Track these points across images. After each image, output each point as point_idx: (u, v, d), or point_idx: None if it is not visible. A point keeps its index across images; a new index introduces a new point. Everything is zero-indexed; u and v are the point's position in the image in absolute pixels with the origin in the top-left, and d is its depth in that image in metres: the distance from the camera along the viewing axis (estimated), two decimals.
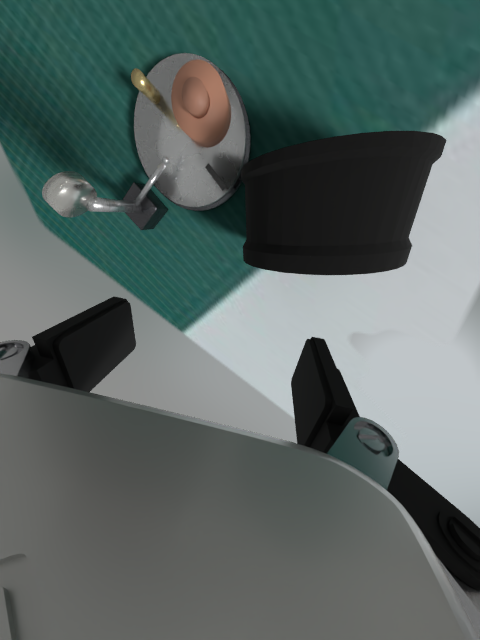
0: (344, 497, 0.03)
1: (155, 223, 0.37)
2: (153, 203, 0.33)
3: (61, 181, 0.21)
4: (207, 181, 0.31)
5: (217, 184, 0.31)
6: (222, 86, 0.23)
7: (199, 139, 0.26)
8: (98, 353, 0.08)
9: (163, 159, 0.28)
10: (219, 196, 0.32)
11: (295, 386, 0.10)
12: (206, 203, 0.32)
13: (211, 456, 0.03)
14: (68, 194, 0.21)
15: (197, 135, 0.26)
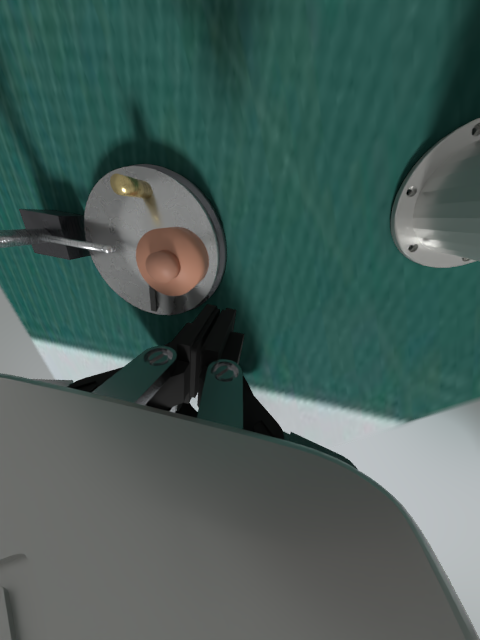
0: (344, 497, 0.03)
1: None
2: (70, 250, 0.25)
3: None
4: (143, 292, 0.27)
5: (150, 302, 0.27)
6: (195, 281, 0.21)
7: None
8: None
9: (103, 248, 0.22)
10: (145, 309, 0.28)
11: None
12: (129, 301, 0.28)
13: (211, 456, 0.03)
14: None
15: (147, 279, 0.22)
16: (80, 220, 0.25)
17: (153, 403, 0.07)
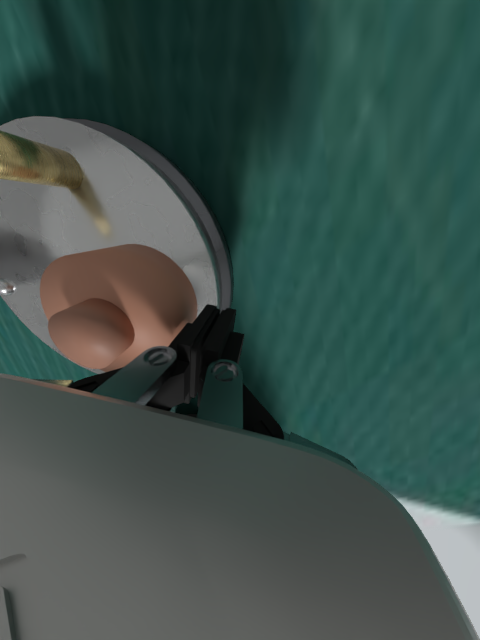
0: (344, 497, 0.03)
1: None
2: None
3: None
4: None
5: None
6: None
7: None
8: None
9: None
10: (99, 373, 0.17)
11: None
12: None
13: (211, 457, 0.03)
14: None
15: None
16: None
17: (153, 403, 0.07)
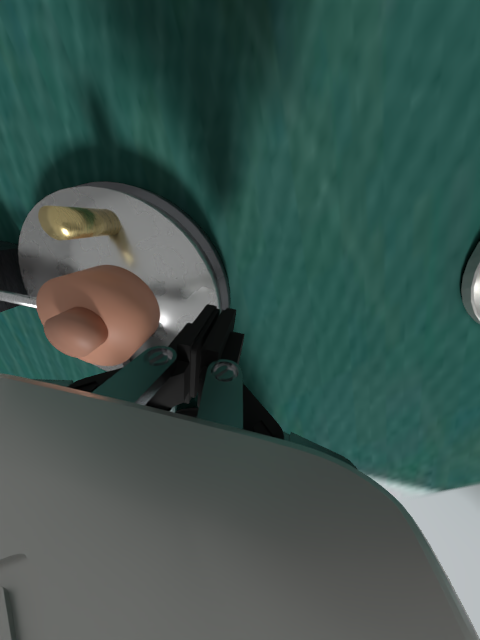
0: (344, 497, 0.03)
1: None
2: None
3: None
4: None
5: (123, 366, 0.20)
6: (132, 348, 0.14)
7: None
8: None
9: None
10: None
11: None
12: None
13: (212, 457, 0.03)
14: None
15: None
16: None
17: (153, 403, 0.07)
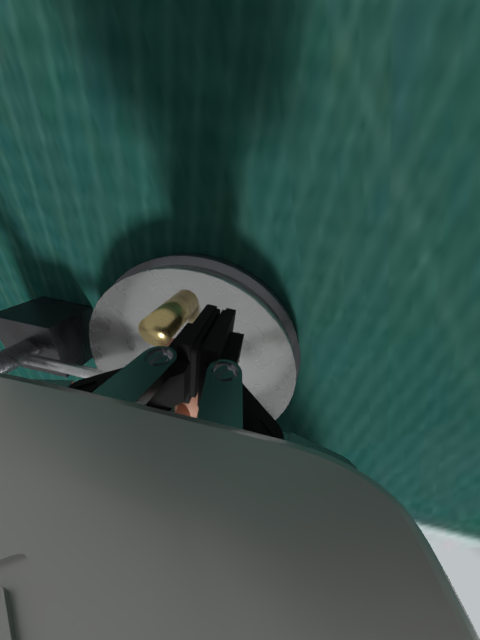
0: (344, 497, 0.03)
1: None
2: None
3: None
4: None
5: None
6: None
7: None
8: None
9: None
10: None
11: None
12: None
13: (212, 457, 0.03)
14: None
15: None
16: (82, 317, 0.17)
17: (153, 403, 0.07)
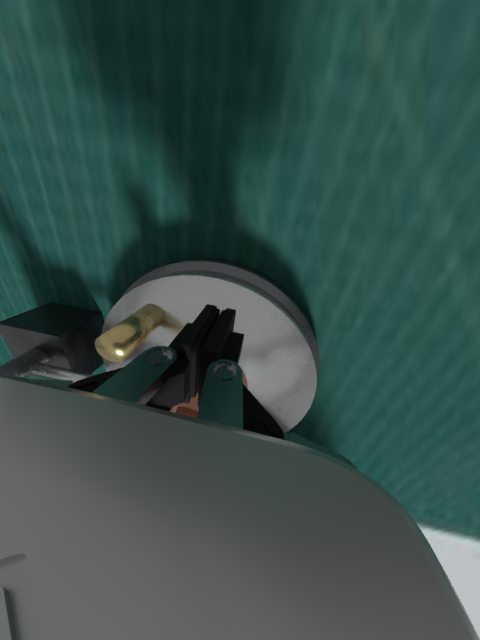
0: (344, 497, 0.03)
1: None
2: None
3: None
4: None
5: None
6: None
7: None
8: None
9: None
10: None
11: None
12: None
13: (211, 457, 0.03)
14: None
15: None
16: (92, 324, 0.17)
17: (153, 403, 0.07)
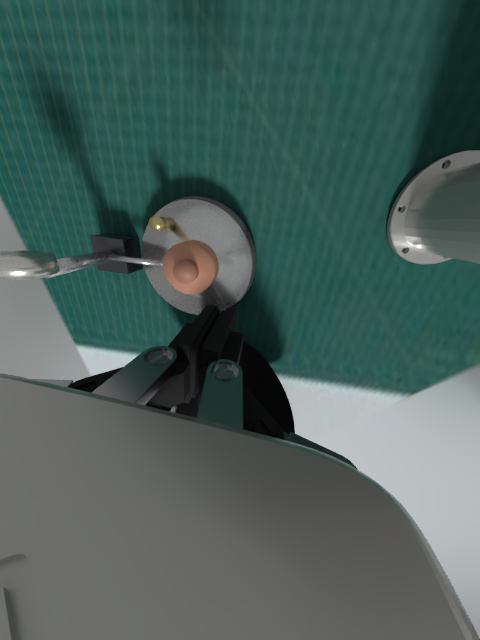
0: (344, 497, 0.03)
1: None
2: (128, 266, 0.30)
3: (17, 270, 0.17)
4: (208, 298, 0.32)
5: (217, 303, 0.32)
6: (211, 266, 0.26)
7: None
8: None
9: (162, 263, 0.28)
10: None
11: None
12: None
13: (211, 457, 0.03)
14: None
15: (183, 290, 0.28)
16: (134, 241, 0.31)
17: (153, 403, 0.07)
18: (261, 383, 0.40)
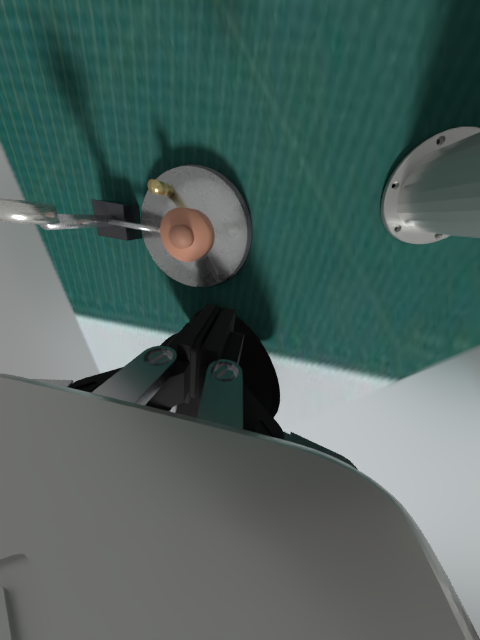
0: (344, 497, 0.03)
1: None
2: (127, 233, 0.31)
3: (18, 213, 0.18)
4: (203, 270, 0.33)
5: (212, 275, 0.33)
6: (206, 233, 0.27)
7: None
8: None
9: (159, 229, 0.28)
10: (212, 284, 0.34)
11: None
12: (198, 285, 0.34)
13: (211, 457, 0.03)
14: None
15: (179, 257, 0.29)
16: (135, 209, 0.32)
17: (153, 403, 0.07)
18: (252, 360, 0.41)
